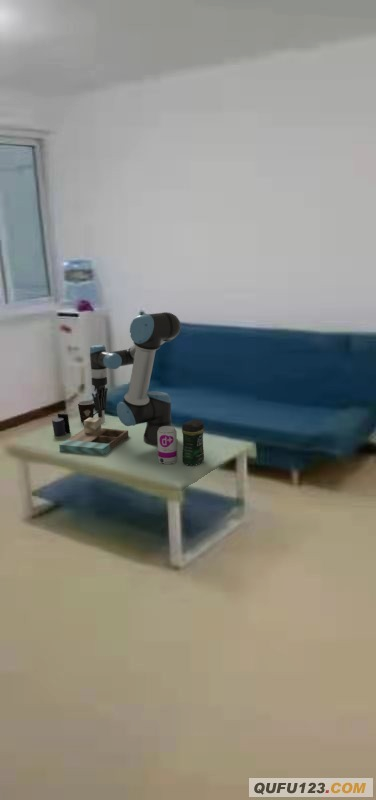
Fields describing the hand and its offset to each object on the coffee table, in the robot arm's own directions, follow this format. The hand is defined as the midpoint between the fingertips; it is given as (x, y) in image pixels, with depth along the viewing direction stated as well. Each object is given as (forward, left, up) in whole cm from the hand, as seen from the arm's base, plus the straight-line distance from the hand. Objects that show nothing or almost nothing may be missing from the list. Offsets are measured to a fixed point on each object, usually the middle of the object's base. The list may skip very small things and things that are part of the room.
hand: (101, 422), depth 312 cm
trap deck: (-5, +18, -4) cm, 19 cm away
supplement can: (-47, +32, -5) cm, 57 cm away
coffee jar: (-58, +30, -5) cm, 65 cm away
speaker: (+17, +10, -5) cm, 21 cm away
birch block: (0, +10, -1) cm, 10 cm away
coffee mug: (+14, -15, -5) cm, 21 cm away
